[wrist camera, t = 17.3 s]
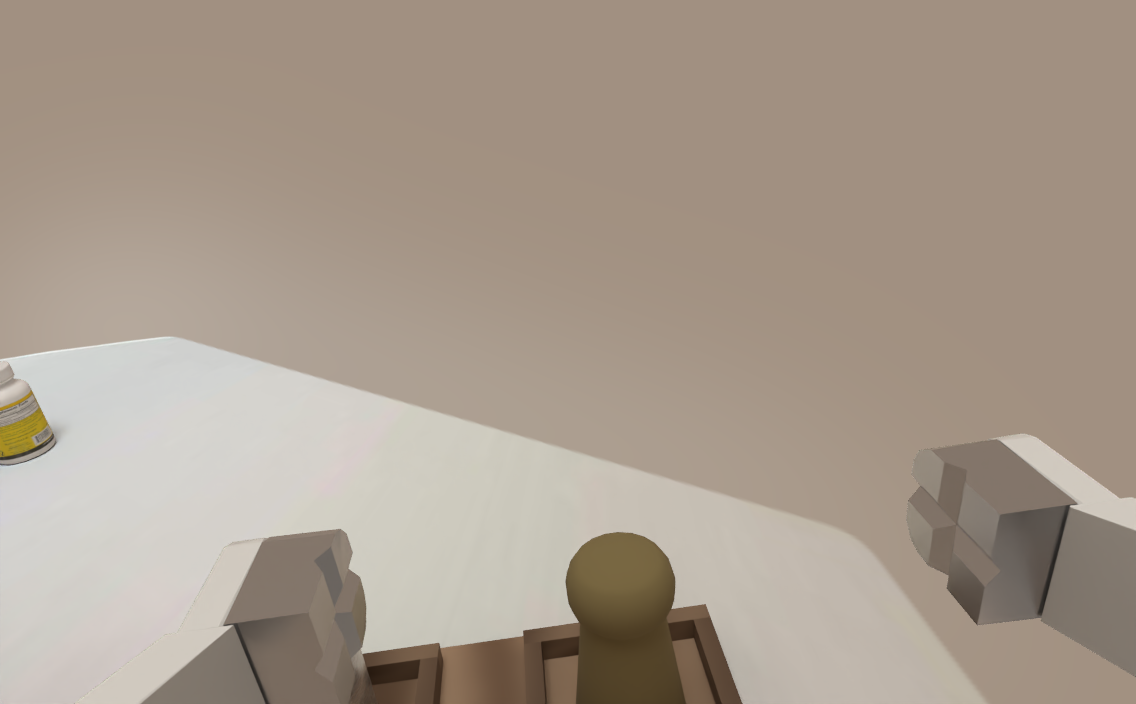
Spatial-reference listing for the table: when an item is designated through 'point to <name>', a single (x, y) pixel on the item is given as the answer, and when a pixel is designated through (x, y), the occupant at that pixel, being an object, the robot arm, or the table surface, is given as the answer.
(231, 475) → the table surface
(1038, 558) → the robot arm
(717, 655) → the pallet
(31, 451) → the supplement bottle
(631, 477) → the table surface
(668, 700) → the cork
